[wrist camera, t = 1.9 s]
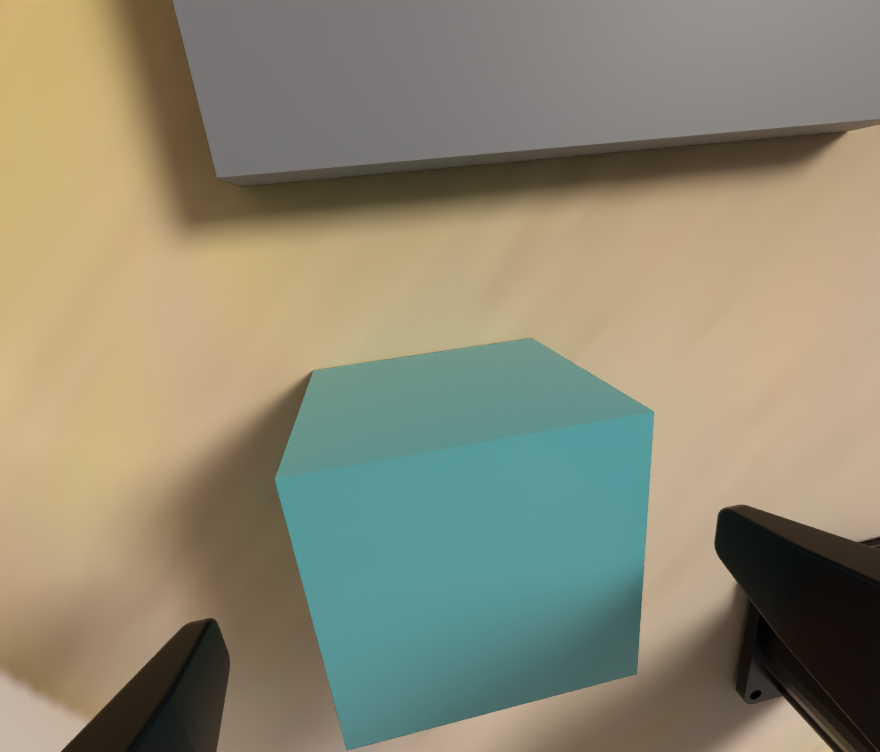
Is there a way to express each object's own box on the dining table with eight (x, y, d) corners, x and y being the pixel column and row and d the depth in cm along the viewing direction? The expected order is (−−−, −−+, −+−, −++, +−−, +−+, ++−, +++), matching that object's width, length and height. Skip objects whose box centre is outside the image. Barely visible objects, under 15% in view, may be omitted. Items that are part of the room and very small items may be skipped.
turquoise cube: (537, 516, 13) (636, 673, 8) (352, 554, 12) (347, 750, 8) (531, 338, 11) (654, 411, 6) (313, 370, 10) (274, 479, 6)
